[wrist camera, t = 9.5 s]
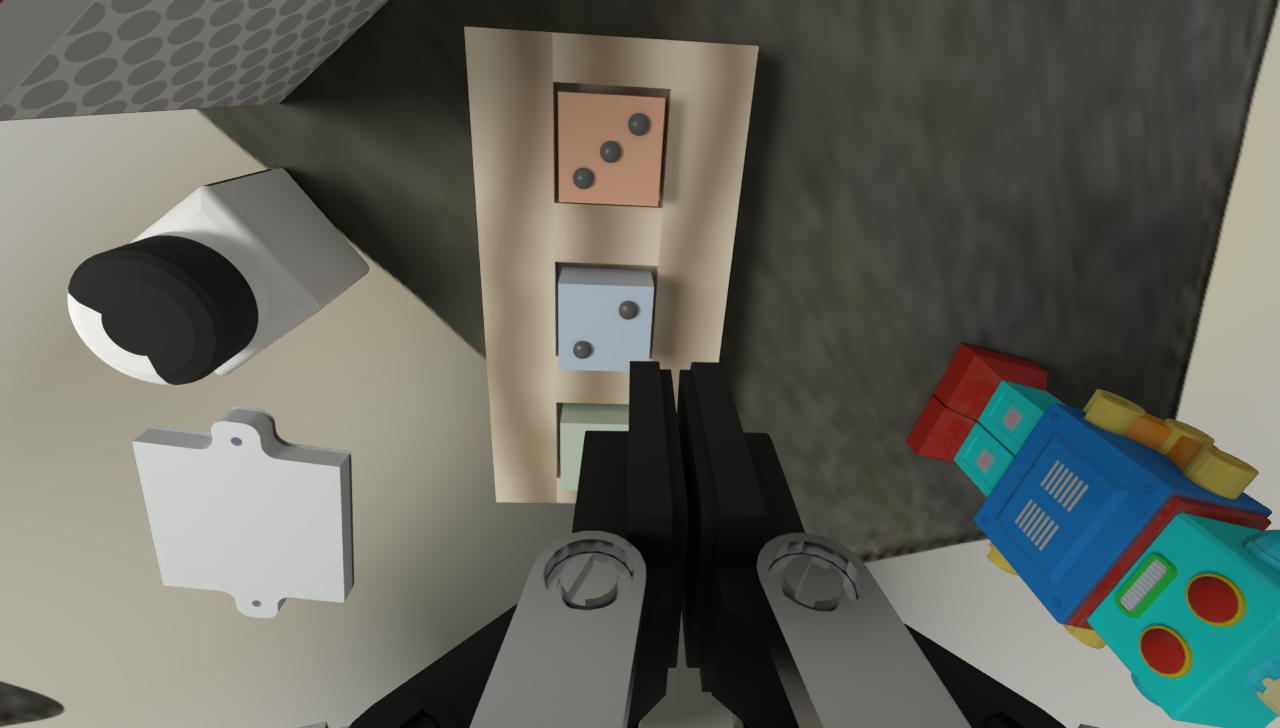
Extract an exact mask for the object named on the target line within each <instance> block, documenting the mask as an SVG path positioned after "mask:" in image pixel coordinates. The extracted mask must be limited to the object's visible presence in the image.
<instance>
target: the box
mask: <svg viewBox="0 0 1280 728" xmlns="http://www.w3.org/2000/svg"><path fill="white" fill-rule="evenodd" d="M388 1H389V0H0V121H7V120H22V119H39V118H55V117H71V116H86V115H103V114H119V113H135V112H151V111H167V110H182V109H183V110H184V109H200V108H216V107H232V106H248V105H264V104H279V103H280V102H281V101H282V100H284V99H285V98H286V97H287V96H288V95H289V94H290V93H291V92H292V91H293V90H294V89H295V88H296V87H297V86H298V85H299V84H301V83H302V82H303V81H304V80H305V79H306V78H307V77H308V76H309V75H310V74H311V73H312V72H313V71H314V70H315V69H316V68H318V67H319V66H320V65H321V64H322V63H323V62H324V61H325V60H326V59H327V58H328V57H329V56H330V55H331V54H332V53H333V52H335V51H336V50H337V49H338V48H339V47H340V46H341V45H342V44H343V43H344V42H345V41H346V40H347V39H348V38H349V37H351V36H352V35H353V34H354V33H355V32H356V31H357V30H358V29H359V28H360V27H361V26H362V25H363V24H364V23H365V22H366V21H368V20H369V19H370V18H371V17H372V16H373V15H374V14H375V13H376V12H377V11H378V10H379V9H380V8H381V7H382V6H383V5H385V4H386V3H387V2H388Z"/></svg>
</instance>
